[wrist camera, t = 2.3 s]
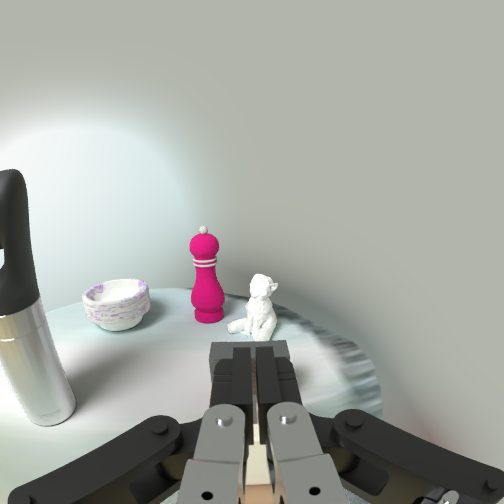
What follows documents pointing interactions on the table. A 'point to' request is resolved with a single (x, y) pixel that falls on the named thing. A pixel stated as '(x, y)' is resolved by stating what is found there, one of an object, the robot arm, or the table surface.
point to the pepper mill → (206, 278)
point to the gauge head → (256, 455)
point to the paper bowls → (117, 303)
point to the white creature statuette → (257, 311)
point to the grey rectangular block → (226, 352)
